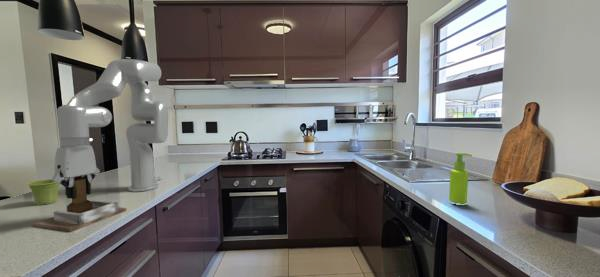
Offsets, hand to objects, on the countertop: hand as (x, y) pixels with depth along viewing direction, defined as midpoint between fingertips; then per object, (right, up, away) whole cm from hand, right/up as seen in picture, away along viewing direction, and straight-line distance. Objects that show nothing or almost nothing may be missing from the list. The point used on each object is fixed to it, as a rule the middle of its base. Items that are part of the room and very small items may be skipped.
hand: (79, 195), depth 86 cm
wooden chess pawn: (0, -5, 0) cm, 5 cm away
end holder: (+1, -8, 0) cm, 8 cm away
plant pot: (-27, -7, +16) cm, 32 cm away
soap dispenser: (+138, -6, +13) cm, 139 cm away
